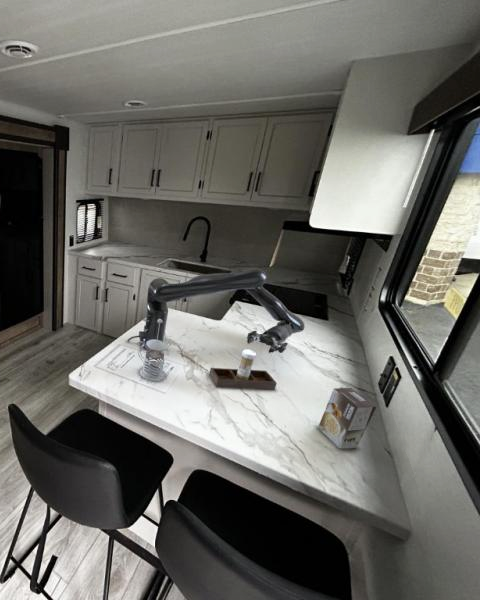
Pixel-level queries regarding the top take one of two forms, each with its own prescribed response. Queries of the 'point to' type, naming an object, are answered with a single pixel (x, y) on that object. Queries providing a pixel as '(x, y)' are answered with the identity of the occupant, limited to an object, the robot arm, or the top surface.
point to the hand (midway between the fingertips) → (259, 346)
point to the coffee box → (346, 417)
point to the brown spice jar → (245, 364)
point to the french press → (155, 352)
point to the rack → (229, 380)
